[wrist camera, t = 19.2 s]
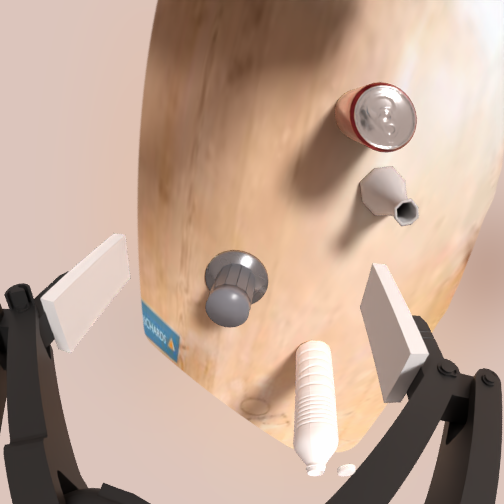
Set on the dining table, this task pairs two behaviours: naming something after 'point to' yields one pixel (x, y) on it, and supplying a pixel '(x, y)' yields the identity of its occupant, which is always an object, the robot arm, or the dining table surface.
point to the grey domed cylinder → (231, 295)
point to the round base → (245, 260)
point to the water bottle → (316, 409)
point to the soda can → (377, 116)
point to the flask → (388, 195)
